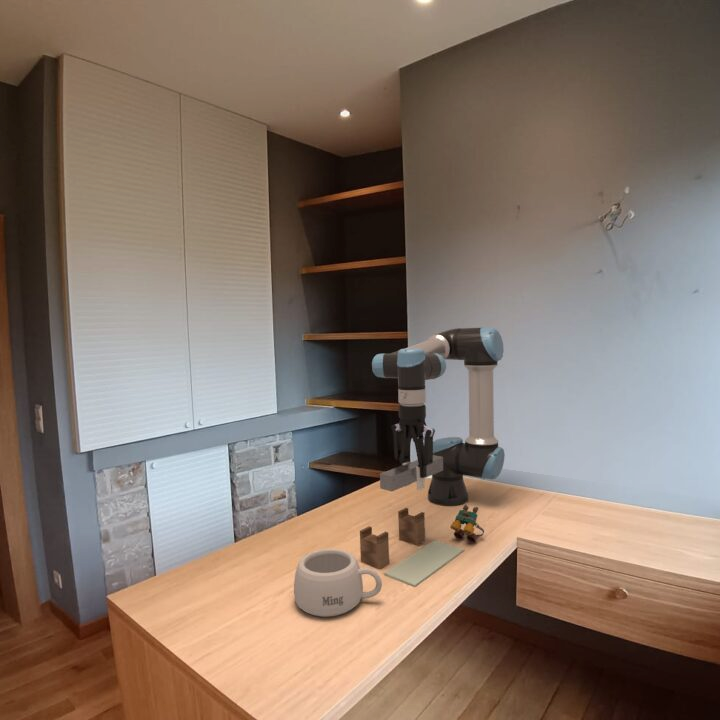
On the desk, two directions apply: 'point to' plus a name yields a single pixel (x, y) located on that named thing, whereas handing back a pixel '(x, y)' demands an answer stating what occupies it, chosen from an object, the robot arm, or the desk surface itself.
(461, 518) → the binoculars
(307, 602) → the mug
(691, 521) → the desk surface
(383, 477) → the rail
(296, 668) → the desk surface
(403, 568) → the mat
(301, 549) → the desk surface
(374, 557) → the rack
